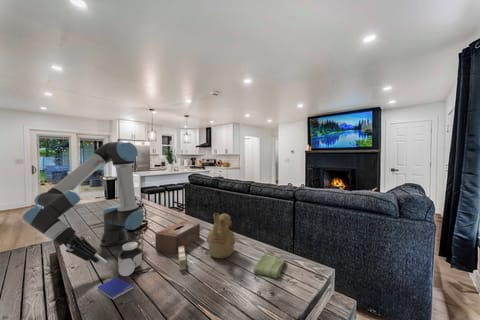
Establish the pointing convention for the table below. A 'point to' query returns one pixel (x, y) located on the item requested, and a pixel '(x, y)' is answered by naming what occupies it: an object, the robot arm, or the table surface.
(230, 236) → the ceramic vessel
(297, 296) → the table surface
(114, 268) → the table surface
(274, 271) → the washcloth
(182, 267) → the ash stop
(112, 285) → the hard drive
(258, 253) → the table surface
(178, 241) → the tissue box cover
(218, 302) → the table surface
